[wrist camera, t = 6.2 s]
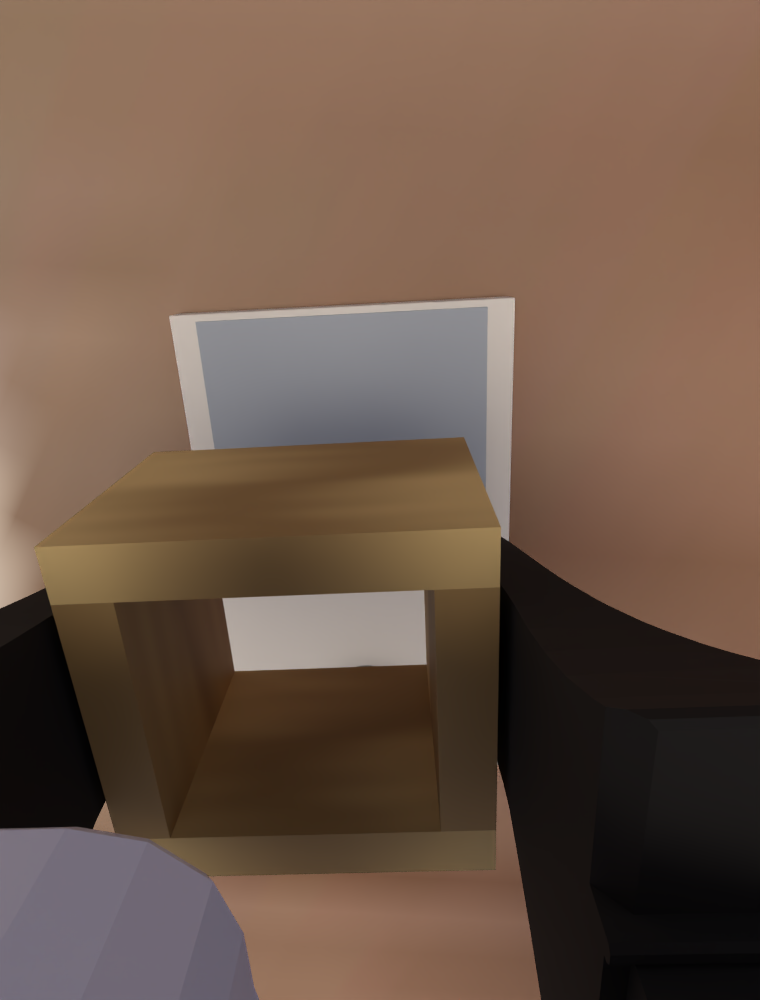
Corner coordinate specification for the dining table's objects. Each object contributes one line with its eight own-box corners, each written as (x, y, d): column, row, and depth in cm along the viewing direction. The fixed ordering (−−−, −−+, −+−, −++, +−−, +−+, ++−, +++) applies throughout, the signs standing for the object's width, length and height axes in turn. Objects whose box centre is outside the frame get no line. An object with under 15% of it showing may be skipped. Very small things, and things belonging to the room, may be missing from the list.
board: (508, 296, 18) (516, 298, 17) (499, 745, 24) (504, 768, 23) (180, 313, 19) (166, 316, 18) (250, 751, 25) (243, 774, 24)
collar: (463, 437, 11) (501, 527, 7) (465, 694, 13) (495, 869, 9) (153, 452, 11) (34, 548, 7) (202, 703, 13) (128, 877, 9)
